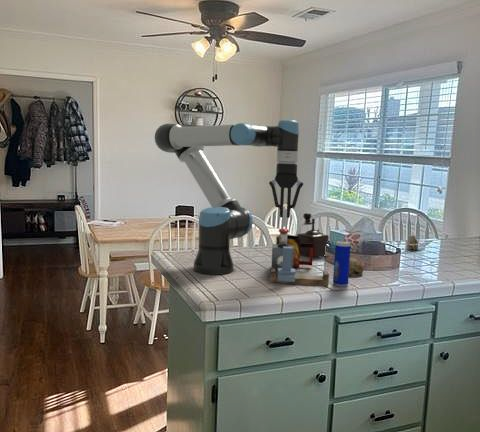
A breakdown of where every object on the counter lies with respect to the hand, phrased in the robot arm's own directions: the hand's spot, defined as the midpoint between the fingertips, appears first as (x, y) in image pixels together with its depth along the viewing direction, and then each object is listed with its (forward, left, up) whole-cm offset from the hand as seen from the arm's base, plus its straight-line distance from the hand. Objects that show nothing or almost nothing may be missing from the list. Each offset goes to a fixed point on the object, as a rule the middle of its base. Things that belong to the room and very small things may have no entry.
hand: (284, 226), depth 181 cm
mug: (+4, +11, -18) cm, 21 cm away
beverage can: (+20, -13, -18) cm, 30 cm away
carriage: (+1, -13, -18) cm, 22 cm away
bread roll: (+25, +5, -18) cm, 31 cm away
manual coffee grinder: (+12, +38, -18) cm, 44 cm away
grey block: (0, 0, -18) cm, 18 cm away
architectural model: (+64, +61, -19) cm, 90 cm away
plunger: (0, 0, -8) cm, 8 cm away
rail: (+6, -13, -18) cm, 23 cm away
